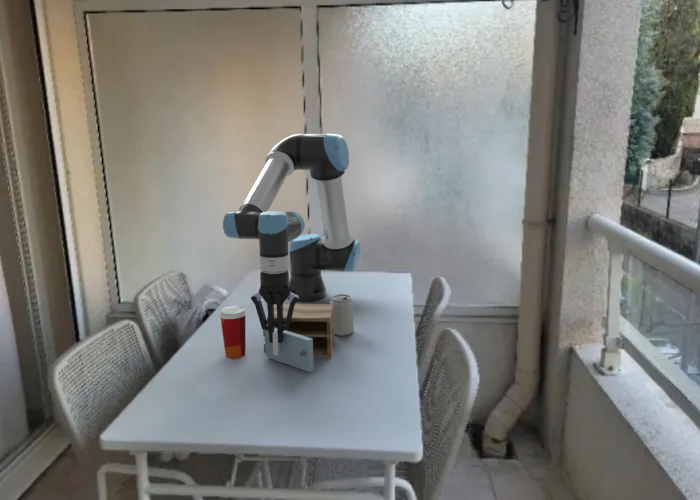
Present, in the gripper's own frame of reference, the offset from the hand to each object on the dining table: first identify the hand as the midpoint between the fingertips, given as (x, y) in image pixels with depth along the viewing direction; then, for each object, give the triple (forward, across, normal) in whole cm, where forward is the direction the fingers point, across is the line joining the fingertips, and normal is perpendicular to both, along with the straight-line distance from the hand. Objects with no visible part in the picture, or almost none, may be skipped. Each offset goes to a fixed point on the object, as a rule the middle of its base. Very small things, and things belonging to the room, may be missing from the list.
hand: (276, 353), depth 156 cm
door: (+3, +2, +1) cm, 4 cm away
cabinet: (+4, +5, +13) cm, 15 cm away
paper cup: (+5, -14, +8) cm, 17 cm away
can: (+4, +16, +27) cm, 31 cm away
